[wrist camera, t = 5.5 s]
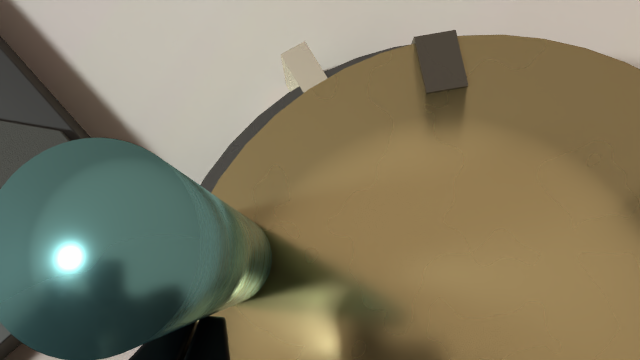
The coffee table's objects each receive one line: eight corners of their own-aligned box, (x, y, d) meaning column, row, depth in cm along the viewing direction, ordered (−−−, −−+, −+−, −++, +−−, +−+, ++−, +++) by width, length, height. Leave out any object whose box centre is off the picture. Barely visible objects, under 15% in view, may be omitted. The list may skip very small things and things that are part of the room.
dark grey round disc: (512, 790, 14) (554, 905, 12) (47, 360, 16) (-5, 377, 14) (832, 295, 16) (927, 300, 14) (390, -34, 18) (401, -82, 16)
